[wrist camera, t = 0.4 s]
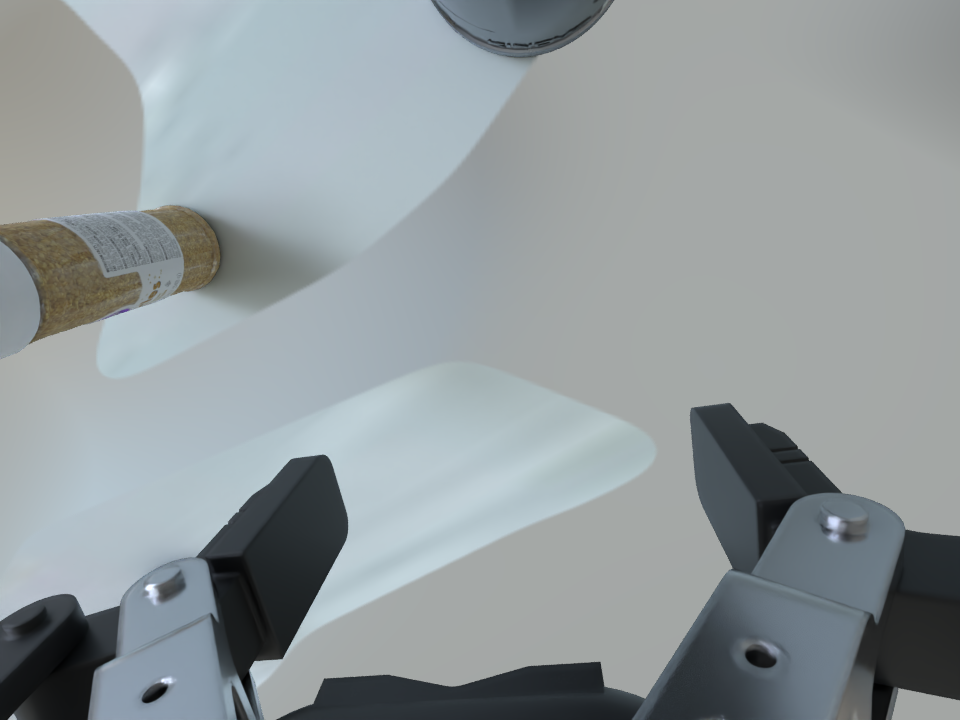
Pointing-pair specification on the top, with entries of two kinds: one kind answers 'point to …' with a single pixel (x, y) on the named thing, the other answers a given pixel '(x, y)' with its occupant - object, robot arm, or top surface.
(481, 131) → the top surface
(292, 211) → the top surface
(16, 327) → the sprinkles bottle
